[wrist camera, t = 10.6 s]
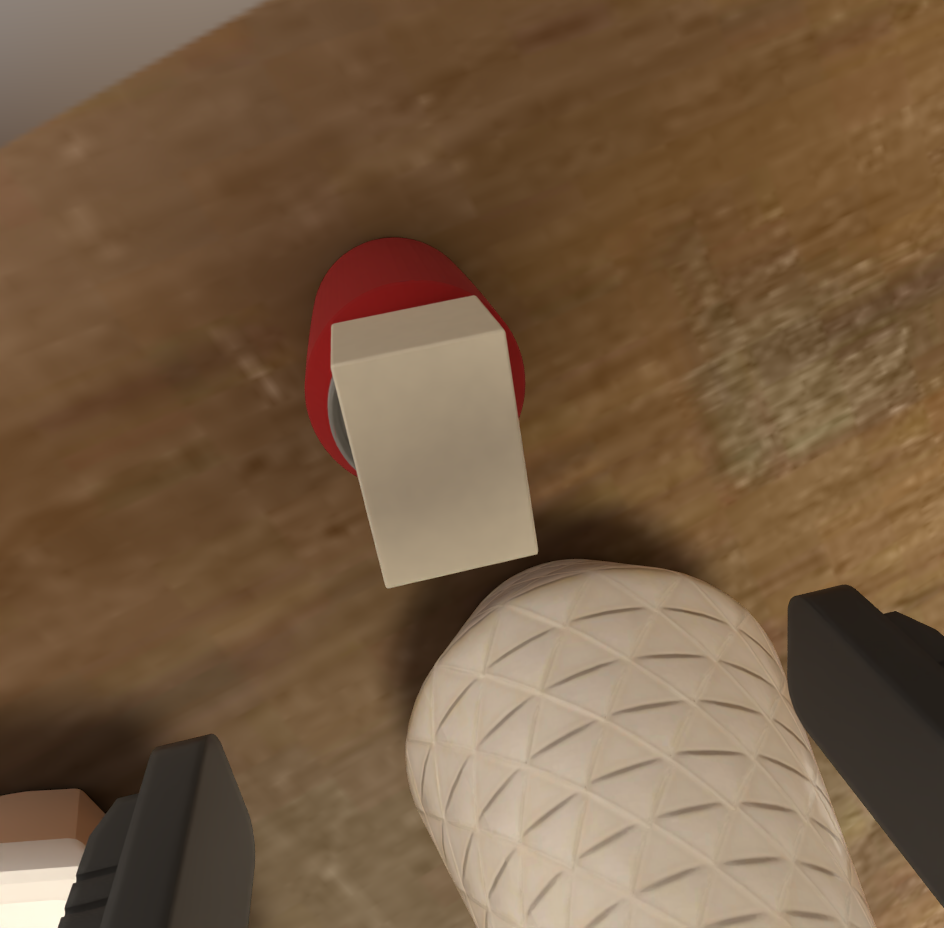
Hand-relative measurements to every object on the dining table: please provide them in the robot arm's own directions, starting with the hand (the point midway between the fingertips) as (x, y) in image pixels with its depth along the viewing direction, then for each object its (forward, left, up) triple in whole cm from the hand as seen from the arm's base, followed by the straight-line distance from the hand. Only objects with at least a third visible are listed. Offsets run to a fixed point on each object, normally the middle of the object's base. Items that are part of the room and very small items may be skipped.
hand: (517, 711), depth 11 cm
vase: (+19, +5, -25) cm, 32 cm away
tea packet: (0, 0, -13) cm, 13 cm away
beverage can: (0, 0, -25) cm, 25 cm away
